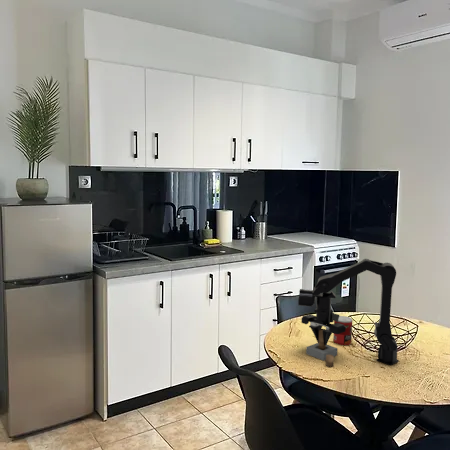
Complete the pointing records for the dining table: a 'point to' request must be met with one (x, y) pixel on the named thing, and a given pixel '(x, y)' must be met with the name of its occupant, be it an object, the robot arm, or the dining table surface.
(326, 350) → the socket block
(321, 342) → the long pin
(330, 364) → the short pin
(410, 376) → the dining table surface
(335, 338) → the canned food
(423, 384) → the dining table surface
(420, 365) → the dining table surface
